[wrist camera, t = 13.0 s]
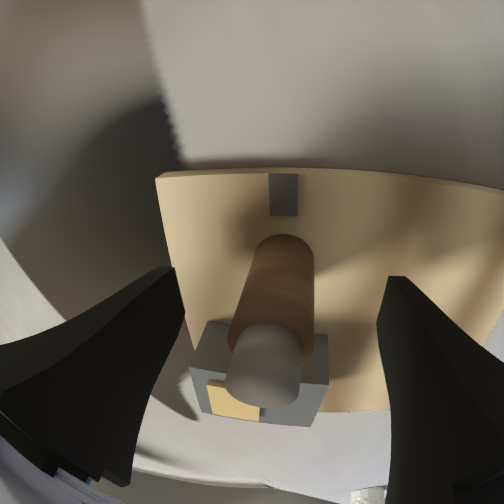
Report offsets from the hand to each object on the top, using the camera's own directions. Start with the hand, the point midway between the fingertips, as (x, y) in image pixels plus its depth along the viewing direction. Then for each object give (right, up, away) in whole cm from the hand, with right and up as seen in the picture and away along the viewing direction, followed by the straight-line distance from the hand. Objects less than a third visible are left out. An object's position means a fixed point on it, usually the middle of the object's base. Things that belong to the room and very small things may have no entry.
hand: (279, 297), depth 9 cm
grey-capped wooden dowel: (0, +1, +2) cm, 2 cm away
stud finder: (0, -4, +5) cm, 7 cm away
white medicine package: (+22, -46, +27) cm, 58 cm away
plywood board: (+5, -2, +4) cm, 7 cm away
